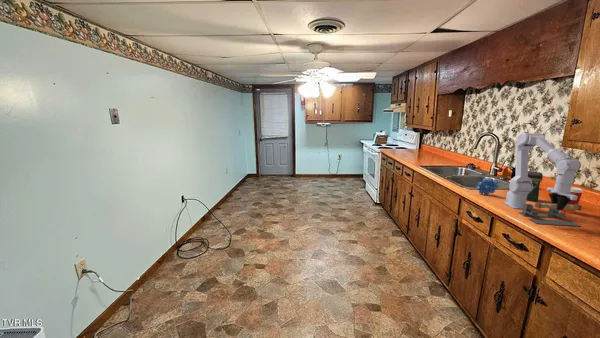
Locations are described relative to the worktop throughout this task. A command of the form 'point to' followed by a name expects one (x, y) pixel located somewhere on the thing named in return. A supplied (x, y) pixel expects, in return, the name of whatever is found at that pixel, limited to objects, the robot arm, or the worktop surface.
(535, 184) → the coffee jar
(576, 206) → the tan wooden rod
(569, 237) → the worktop surface
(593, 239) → the worktop surface
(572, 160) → the robot arm
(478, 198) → the worktop surface
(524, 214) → the hook standards
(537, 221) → the mat
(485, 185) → the grapes
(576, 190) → the paper cup
